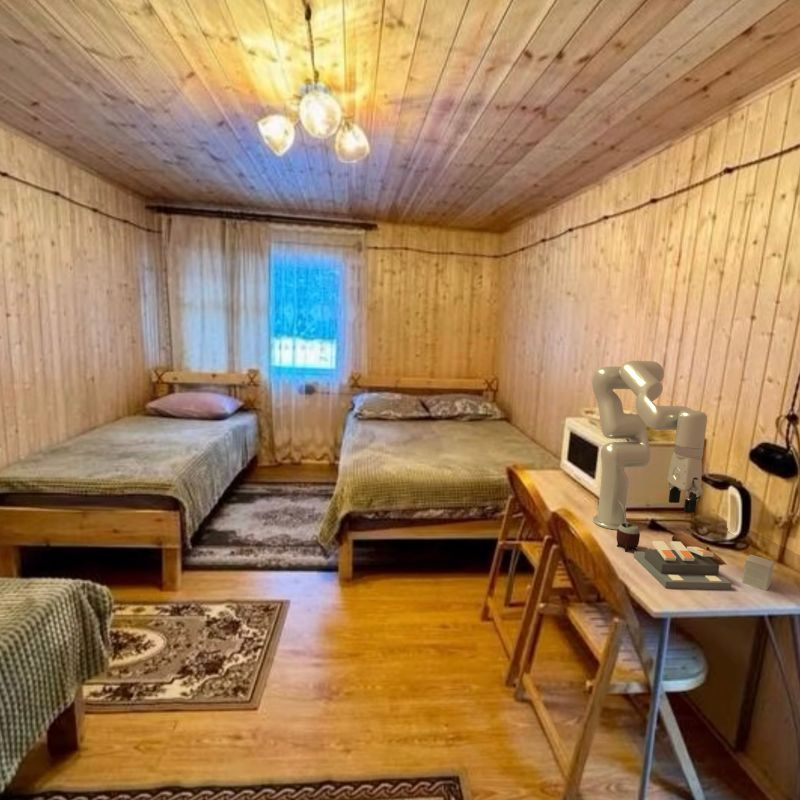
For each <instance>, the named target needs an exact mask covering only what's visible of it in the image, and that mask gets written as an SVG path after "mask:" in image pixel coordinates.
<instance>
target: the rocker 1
mask: <svg viewBox="0 0 800 800" xmlns="http://www.w3.org/2000/svg"><path fill="white" fill-rule="evenodd" d="M652 546H654V548H655V549H657V551H658V552H659V554H660V556H662V557H663V558H664V560H671V561H676V557H675V555H674V554H673V553H672V552H671V550H672V549H670V548H669V546H668V545H667V544H666V543H665V541H663V540H652Z"/></svg>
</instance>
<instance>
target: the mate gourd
mask: <svg viewBox="0 0 800 800" xmlns="http://www.w3.org/2000/svg"><path fill="white" fill-rule="evenodd" d="M618 502H619V503H620V505H621V506H622V508H623V512H624V517H625V523H622V524H621V525H619V527H618V530H616V542H617V544H616V547H617V548H621V549H624V552H626V553H628V550H630V551H633V552H638V546H639V544H640V543H639V542H640V536H641V532H640V531H641V530H640V529H639V527H638V526H637V525H635V524H632V523H630V522H628V523H627V521H628V520H627V514H626V513H625V512H627V510H626V511H625V509H624V506H623V505H622V503H621V502H620V501H619V500H618Z"/></svg>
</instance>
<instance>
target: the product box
mask: <svg viewBox="0 0 800 800" xmlns="http://www.w3.org/2000/svg"><path fill="white" fill-rule="evenodd" d="M744 562H745V563H744V569H743V576H742V584H745V585H748V586H751V587H753V588H757V589H760V590H764V591H766V592H767V591H768V590H769V587H770V585H771V584H772V578H773V572H774V565H775V561H774V560H771V559H768V558H765V557H761V556H757V555H754V554H749V555H748V556H747V558H746V559H745V561H744Z"/></svg>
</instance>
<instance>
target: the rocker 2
mask: <svg viewBox="0 0 800 800" xmlns="http://www.w3.org/2000/svg"><path fill="white" fill-rule="evenodd" d="M687 550H689V551H691V552H693V553H696V556H697V557H704V556H709V557H713V553H712V552H709V551H707V550H704V549H701V548H699V547H687Z"/></svg>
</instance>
